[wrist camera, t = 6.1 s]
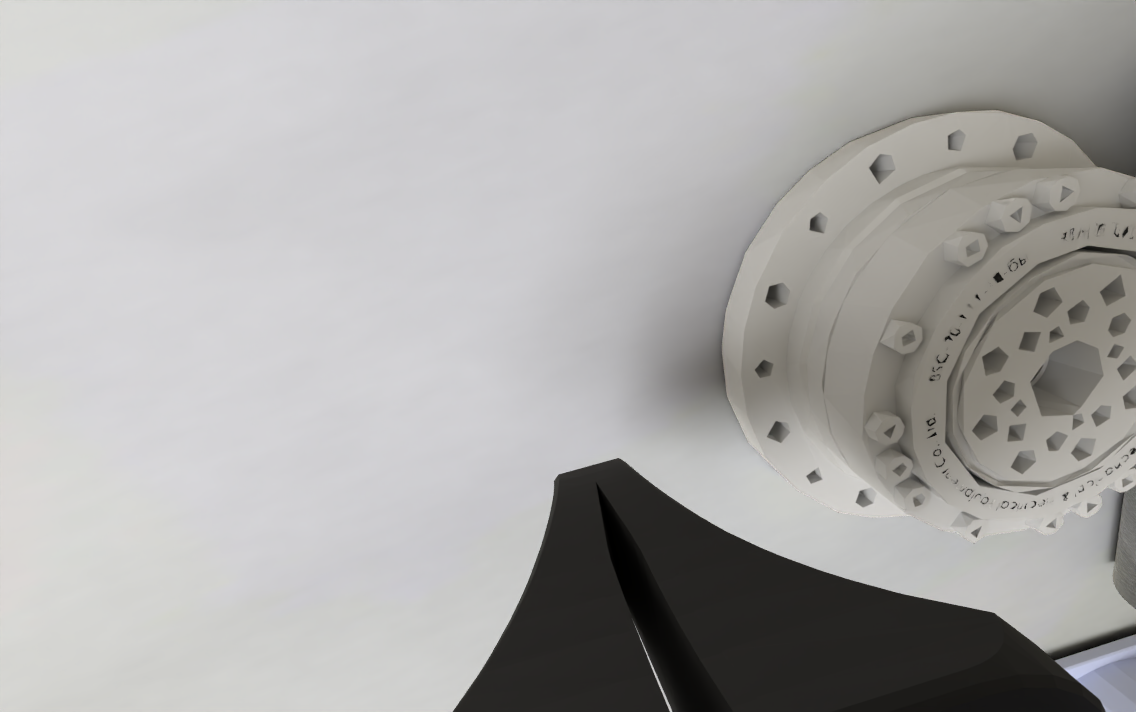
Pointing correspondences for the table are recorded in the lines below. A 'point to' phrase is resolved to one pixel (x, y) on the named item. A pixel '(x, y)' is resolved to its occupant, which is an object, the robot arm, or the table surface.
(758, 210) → the table surface
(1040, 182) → the mechanical component
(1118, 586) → the hinge leaf
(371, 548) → the table surface
